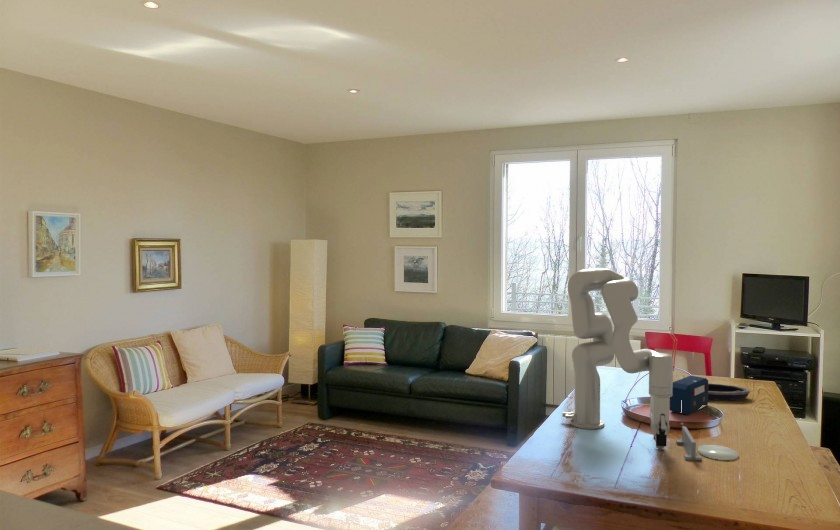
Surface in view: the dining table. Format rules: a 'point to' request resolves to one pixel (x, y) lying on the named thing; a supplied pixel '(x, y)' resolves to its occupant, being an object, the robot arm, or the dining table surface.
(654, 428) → the lightbulb
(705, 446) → the white round dome
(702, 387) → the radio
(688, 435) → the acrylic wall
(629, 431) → the dining table surface
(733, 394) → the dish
